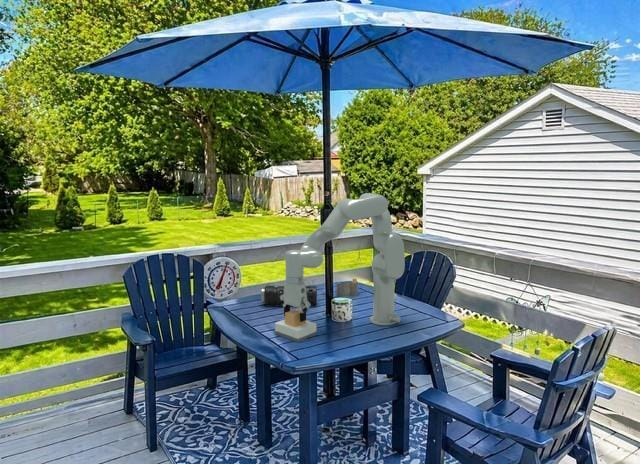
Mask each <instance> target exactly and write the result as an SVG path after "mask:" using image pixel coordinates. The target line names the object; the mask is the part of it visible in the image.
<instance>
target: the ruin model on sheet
mask: <svg viewBox="0 0 640 464" xmlns="http://www.w3.org/2000/svg"><path fill="white" fill-rule="evenodd" d="M358 296H359V282H358V278H352V281H348V282H346V281H345V282H343V281H342V282H340V283H338V282H336V297H338V298H339V297H358Z"/></svg>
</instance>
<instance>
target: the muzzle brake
mask: <svg viewBox="0 0 640 464" xmlns="http://www.w3.org/2000/svg"><path fill="white" fill-rule="evenodd" d="M284 286H285V285H278V286H275V285H265V286H261V289H260V290H261V291H260V298H261V299H260V300H261V303H262V304H265V305H273V306H275V305H280V306H282V305H283V304H282V303H281V299H280V296H281V295H283V294H284ZM305 286H306V293H307V301H308V302H309V303H310V304H311V305H310V306H316V305H317V303H318V302H317V301H318V289H317V287H318V286H317V285H305Z"/></svg>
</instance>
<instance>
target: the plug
mask: <svg viewBox="0 0 640 464" xmlns="http://www.w3.org/2000/svg"><path fill="white" fill-rule="evenodd" d="M300 313H301V311H300V309H299V308H295V309H290V311H288V312H286V313H285V317H284V319H285V324H287V325H290V326H293V327H296V326H298V325H301V324H303V323H306V321H303V322H300Z"/></svg>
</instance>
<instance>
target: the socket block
mask: <svg viewBox="0 0 640 464" xmlns="http://www.w3.org/2000/svg"><path fill="white" fill-rule="evenodd" d="M274 328H275V329H274V330H275V331H274V334H275V335H277V336H280V337H282V338H285V339H288V340H290V341H294V342H295V343H300V342H302V340H303V341H305V340H308V339H310V338H312V337H315V336H316V334H317V323H316V322H312V321H310V320H307V319H306V323H303V324H301V325H298V326H296V327H293V326H290V325H287V324H285V318H284V319H281V320H279V321H277V322H275V323H274ZM314 335H315V336H314ZM309 337H310V338H309ZM307 338H308V339H307Z"/></svg>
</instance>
